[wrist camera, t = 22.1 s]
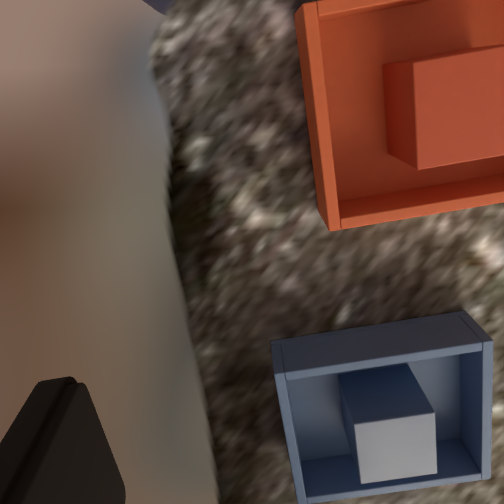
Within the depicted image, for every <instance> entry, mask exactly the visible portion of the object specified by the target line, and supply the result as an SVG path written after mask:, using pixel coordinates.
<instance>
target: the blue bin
mask: <svg viewBox="0 0 504 504" xmlns="http://www.w3.org/2000/svg"><path fill="white" fill-rule="evenodd" d="M271 352H272V362H273V372H274V379H275V384H276V389H277V395H278V400H279V406H280V411H281V416H282V422H283V427H284V432H285V438H286V443H287V449H288V454H289V459H290V465H291V470H292V475H293V481H294V486H295V492H296V497H297V502H298V504H307V503H308V504H312V503H319V502H327V501H334V500H341V499H348V498H355V497H362V496H369V495H377V494H384V493H391V492H398V491H405V490H412V489H419V488H427V487H434V486H441V485H448V484H455V483H462V482H470V481H477V480H481V479H482V480H484V479H490V478H491V435H492V380H493V340H492V339H491V338H490V336H489V335H488V334H487V333H486V332H485V331H484V330H483V329H482V328H481V327H480V326H479V325H478V324H477V323H476V322H475V320H474V319H473V318H472V317H471V316H470V315H469V314H468V313H467V312H466V311H465V310H464V311H458V312H451V313H445V314H439V315H432V316H426V317H419V318H413V319H407V320H400V321H394V322H388V323H381V324H375V325H369V326H362V327H356V328H350V329H343V330H337V331H330V332H324V333H318V334H311V335H305V336H299V337H292V338H286V339H280V340H273V341H271ZM406 364H408V365H409V367H410V369H411V370H412V372H413V374H414V376H415V378H416V379H417V381H418V383H419V385H420V386H421V388H422V390H423V392H424V393H425V395H426V397H427V399H428V400H429V402H430V404H431V406H432V408H433V409H434V411H435V423H436V451H437V473H436V474H429V475H422V476H415V477H408V478H401V479H394V480H387V481H380V482H372V483H365V484H360V481H359V478H358V474H357V471H356V467H355V464H354V460H353V457H352V453H351V450H350V446H349V443H348V439H347V436H346V432H345V427H344V419H343V411H342V403H341V396H340V388H339V380H338V375H341V374H347V373H354V372H360V371H367V370H373V369H380V368H387V367H393V366H400V365H406Z"/></svg>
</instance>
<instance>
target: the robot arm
mask: <svg viewBox="0 0 504 504" xmlns="http://www.w3.org/2000/svg"><path fill="white" fill-rule="evenodd" d="M125 497H126V496H125V486H124V483H123V480H122V478H121V475H120V472H119V470H118V467H117V464H116V462H115V459H114V457H113V454H112V452H111V449H110V446H109V444H108V441H107V439H106V436H105V433H104V431H103V428H102V425H101V423H100V420H99V418H98V415H97V413H96V410H95V407H94V405H93V402H92V399H91V397H90V394H89V391H88V389H87V387H86V385H85V384H84V383H77V381H76V380H75V379H74V378H73V377H70V376H69V377H63V378H57V379H51V380H45V381H41V382H38V384H37V385H36V386H35V388H34V389H33V391H32V392H31V394H30V395H29V397H28V399H27V400H26V402H25V404H24V405H23V407H22V409H21V410H20V412H19V413H18V415H17V417H16V418H15V420H14V422H13V423H12V425H11V426H10V428H9V430H8V432H7V433H6V435H5V437H4V438H3V439H2V441H1V443H0V504H125Z"/></svg>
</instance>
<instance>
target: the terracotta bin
mask: <svg viewBox="0 0 504 504" xmlns="http://www.w3.org/2000/svg"><path fill="white" fill-rule="evenodd" d="M294 19H295V27H296V35H297V43H298V51H299V59H300V67H301V75H302V83H303V91H304V99H305V107H306V115H307V123H308V131H309V139H310V147H311V155H312V163H313V171H314V179H315V187H316V195H317V203H318V211H319V213H320V215H321V217H322V219H323V220H324V222H325V224H326V226H327V228H328V230H329V231H335V230H340V229H347V228H353V227H359V226H365V225H371V224H377V223H383V222H389V221H395V220H400V219H406V218H412V217H418V216H424V215H430V214H436V213H442V212H448V211H454V210H460V209H466V208H472V207H478V206H484V205H490V204H496V203H502V202H504V155H503V156H497V157H491V158H485V159H480V160H474V161H468V162H462V163H456V164H450V165H445V166H439V167H433V168H427V169H421V170H417V169H415V168H413V167H411V166H410V165H408V164H406V163H404V162H402V161H400V160H399V159H397V158H395V157H393V156H391V155H389V154H388V145H387V130H386V114H385V99H384V84H383V68H382V66H383V64H386V63H392V62H397V61H403V60H408V59H414V58H419V57H425V56H430V55H436V54H441V53H447V52H452V51H457V50H463V49H468V48H475V47H483V46H492V45H500V44H504V0H318V1H317V2H315V1H313V2H308V3H303V4H302V5H301V7H300V8H299V9H298V10H297V11H296V13H295V14H294Z"/></svg>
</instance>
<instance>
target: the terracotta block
mask: <svg viewBox="0 0 504 504" xmlns="http://www.w3.org/2000/svg"><path fill="white" fill-rule="evenodd" d="M382 68H383V84H384V99H385V114H386V130H387V145H388V154H389V155H391V156H393V157H395V158H397V159H399V160H400V161H402V162H404V163H406V164H408V165H410V166H411V167H413V168H415V169H417V170H421V169H427V168H433V167H439V166H445V165H450V164H456V163H462V162H468V161H474V160H480V159H485V158H491V157H497V156H503V155H504V44H500V45H492V46H483V47H475V48H468V49H463V50H457V51H452V52H447V53H441V54H436V55H430V56H425V57H419V58H414V59H408V60H403V61H397V62H392V63H386V64H383V66H382Z"/></svg>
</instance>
